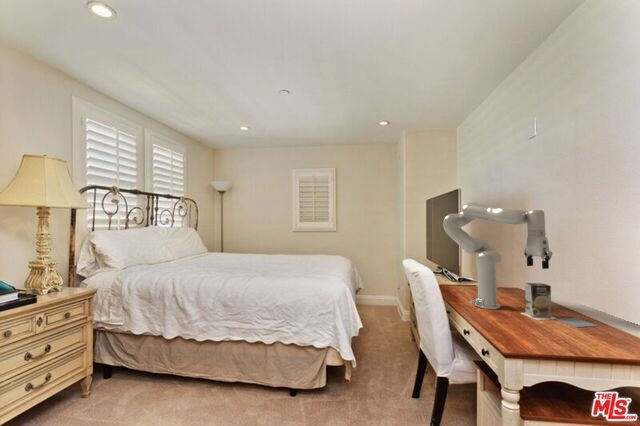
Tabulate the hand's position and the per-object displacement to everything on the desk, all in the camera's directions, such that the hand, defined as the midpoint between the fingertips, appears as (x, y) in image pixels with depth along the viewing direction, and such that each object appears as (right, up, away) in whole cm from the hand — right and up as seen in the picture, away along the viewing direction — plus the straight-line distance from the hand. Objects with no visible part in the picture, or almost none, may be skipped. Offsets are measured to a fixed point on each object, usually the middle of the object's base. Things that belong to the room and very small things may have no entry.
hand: (537, 267), depth 158 cm
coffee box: (0, -25, 0) cm, 25 cm away
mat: (+10, -25, -11) cm, 29 cm away
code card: (0, -25, 0) cm, 25 cm away
